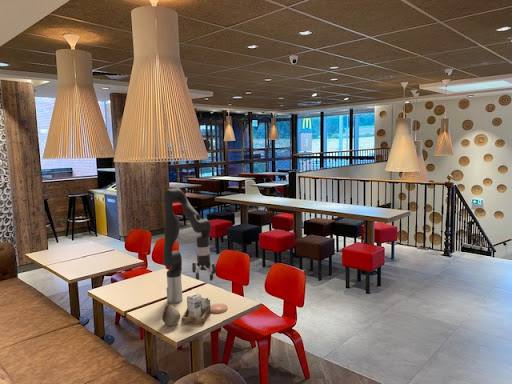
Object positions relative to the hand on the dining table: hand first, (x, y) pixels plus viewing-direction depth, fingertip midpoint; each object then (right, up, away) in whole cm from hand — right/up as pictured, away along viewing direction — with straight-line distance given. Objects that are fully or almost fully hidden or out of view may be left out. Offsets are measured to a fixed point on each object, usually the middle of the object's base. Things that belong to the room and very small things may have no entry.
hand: (204, 279), depth 227 cm
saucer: (+7, -21, +9) cm, 24 cm away
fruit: (-18, -24, -8) cm, 31 cm away
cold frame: (-5, -22, -2) cm, 23 cm away
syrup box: (-5, -23, -2) cm, 23 cm away
